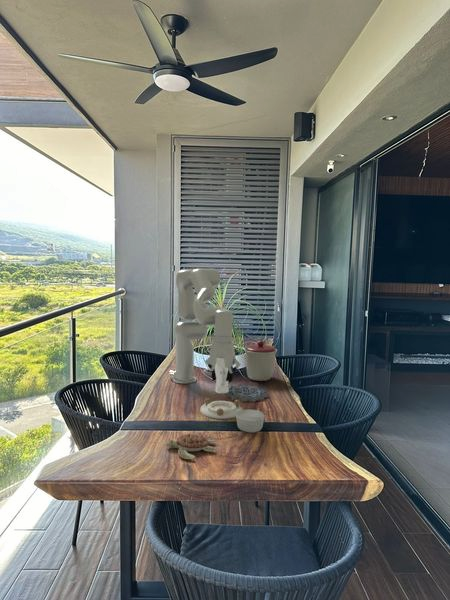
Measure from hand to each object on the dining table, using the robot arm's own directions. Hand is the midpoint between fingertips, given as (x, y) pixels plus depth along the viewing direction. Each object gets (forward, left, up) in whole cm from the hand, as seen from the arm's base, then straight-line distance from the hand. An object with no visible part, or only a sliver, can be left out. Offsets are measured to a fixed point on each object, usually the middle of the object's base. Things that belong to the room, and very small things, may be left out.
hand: (222, 380), depth 167 cm
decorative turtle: (+2, -36, -14) cm, 39 cm away
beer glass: (0, 0, -5) cm, 5 cm away
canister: (+3, +53, -14) cm, 55 cm away
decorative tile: (+4, +24, -14) cm, 28 cm away
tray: (0, 0, -13) cm, 13 cm away
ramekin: (+16, -12, -14) cm, 24 cm away
